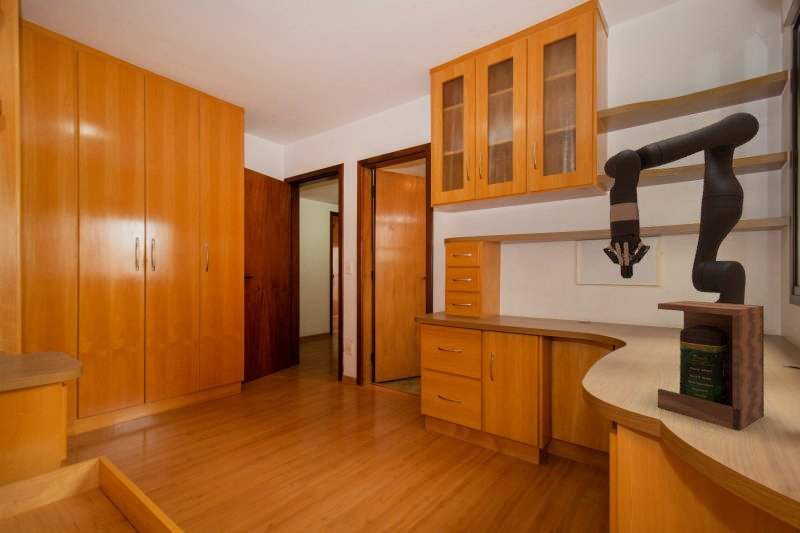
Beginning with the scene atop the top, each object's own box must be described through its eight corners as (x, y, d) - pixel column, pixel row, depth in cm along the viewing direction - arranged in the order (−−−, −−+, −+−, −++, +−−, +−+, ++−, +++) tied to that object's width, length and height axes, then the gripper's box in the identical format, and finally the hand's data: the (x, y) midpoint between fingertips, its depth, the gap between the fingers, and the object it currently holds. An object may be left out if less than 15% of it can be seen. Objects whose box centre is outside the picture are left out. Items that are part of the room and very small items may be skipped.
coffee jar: (723, 421, 75) (722, 330, 76) (675, 410, 81) (675, 325, 81) (730, 409, 82) (730, 325, 82) (686, 399, 88) (685, 321, 88)
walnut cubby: (685, 396, 90) (685, 300, 90) (763, 415, 78) (763, 305, 78) (657, 407, 83) (657, 303, 83) (739, 430, 71) (739, 309, 71)
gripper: (655, 217, 106) (658, 277, 106) (610, 222, 117) (612, 277, 117) (640, 216, 102) (643, 279, 102) (595, 222, 114) (598, 278, 114)
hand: (626, 278), depth 110 cm, fingers closed
